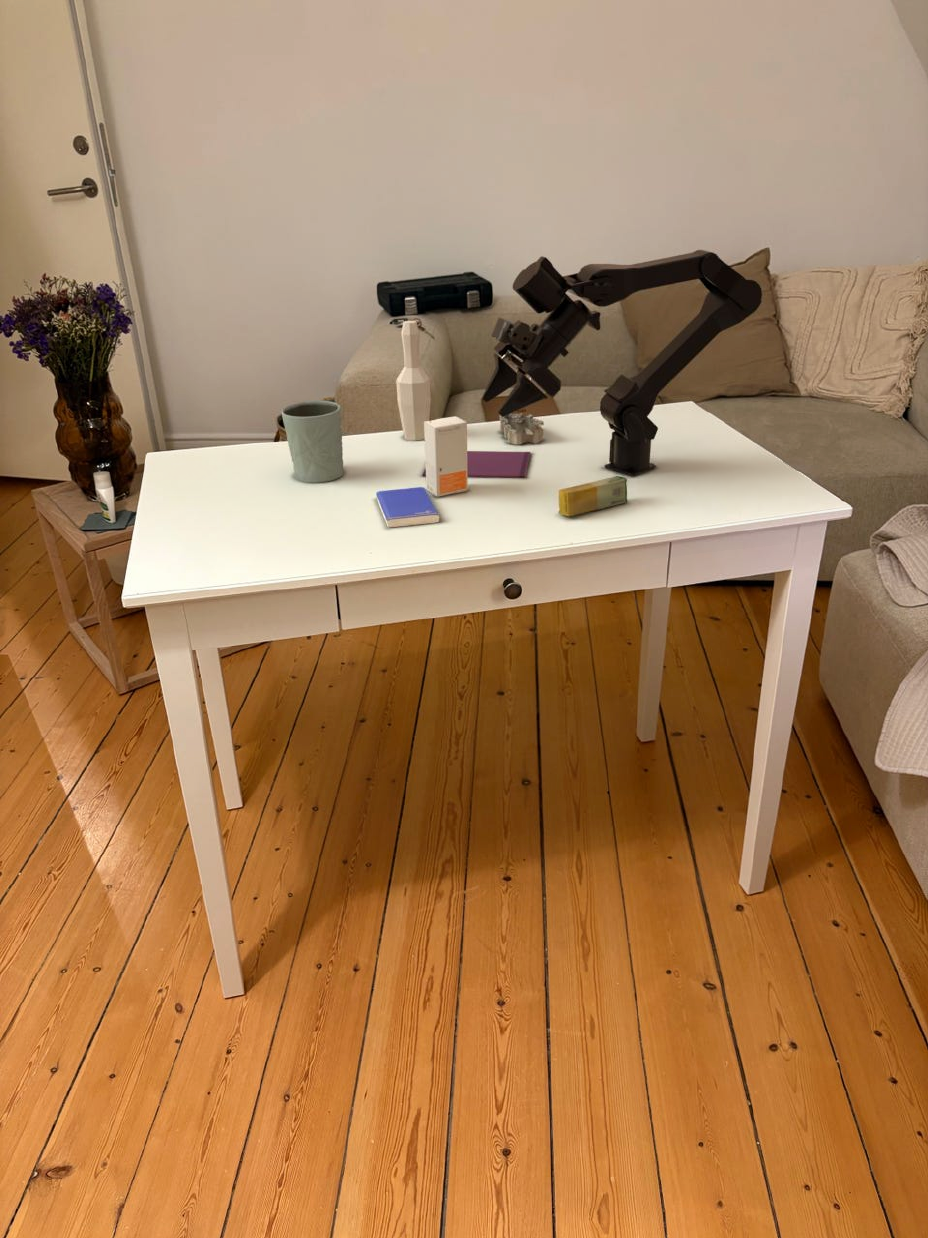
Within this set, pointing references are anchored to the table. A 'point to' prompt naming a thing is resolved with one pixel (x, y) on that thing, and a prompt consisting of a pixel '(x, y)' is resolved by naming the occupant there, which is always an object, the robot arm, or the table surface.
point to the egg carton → (521, 428)
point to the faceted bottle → (413, 386)
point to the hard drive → (407, 507)
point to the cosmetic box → (446, 456)
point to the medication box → (592, 496)
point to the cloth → (496, 464)
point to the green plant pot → (315, 440)
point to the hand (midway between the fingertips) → (491, 407)
